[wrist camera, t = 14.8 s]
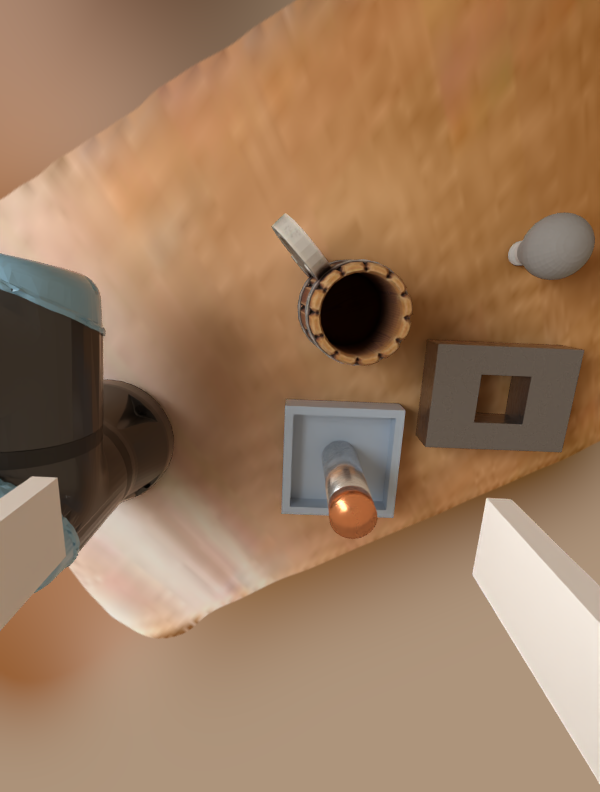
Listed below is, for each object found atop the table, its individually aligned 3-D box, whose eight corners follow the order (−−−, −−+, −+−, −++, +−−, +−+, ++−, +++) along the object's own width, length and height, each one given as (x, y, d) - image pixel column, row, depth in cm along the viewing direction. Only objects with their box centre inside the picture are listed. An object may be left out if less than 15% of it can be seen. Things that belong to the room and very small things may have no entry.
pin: (322, 439, 50) (331, 494, 36) (358, 441, 50) (379, 496, 36) (320, 472, 51) (328, 537, 37) (355, 473, 51) (375, 539, 37)
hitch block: (415, 434, 51) (425, 446, 47) (427, 339, 48) (438, 343, 44) (541, 439, 51) (561, 452, 47) (561, 345, 48) (584, 349, 44)
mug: (406, 311, 47) (455, 321, 32) (337, 371, 49) (354, 405, 34) (318, 203, 44) (328, 159, 29) (248, 270, 46) (225, 260, 31)
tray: (282, 501, 53) (281, 513, 50) (286, 399, 49) (285, 405, 46) (388, 505, 53) (393, 517, 50) (399, 403, 50) (405, 410, 47)
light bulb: (531, 214, 44) (597, 192, 34) (552, 263, 45) (621, 255, 36) (482, 244, 45) (532, 231, 35) (504, 291, 46) (558, 291, 37)
